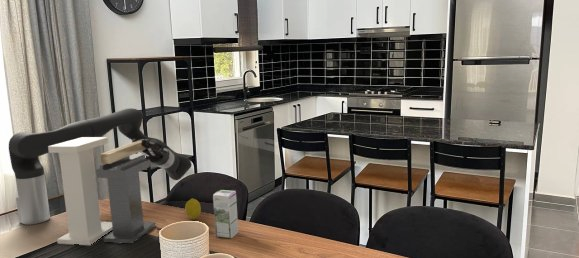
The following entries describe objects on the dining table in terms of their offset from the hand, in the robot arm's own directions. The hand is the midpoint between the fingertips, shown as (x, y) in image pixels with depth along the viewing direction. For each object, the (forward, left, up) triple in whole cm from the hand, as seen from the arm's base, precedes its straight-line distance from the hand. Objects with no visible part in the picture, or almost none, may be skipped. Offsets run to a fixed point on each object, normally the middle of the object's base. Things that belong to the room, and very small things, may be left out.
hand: (138, 142), depth 150 cm
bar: (0, -7, -3) cm, 8 cm away
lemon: (+16, +5, -30) cm, 34 cm away
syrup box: (+33, -7, -30) cm, 45 cm away
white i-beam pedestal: (-14, -12, -30) cm, 35 cm away
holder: (0, -10, -30) cm, 31 cm away
